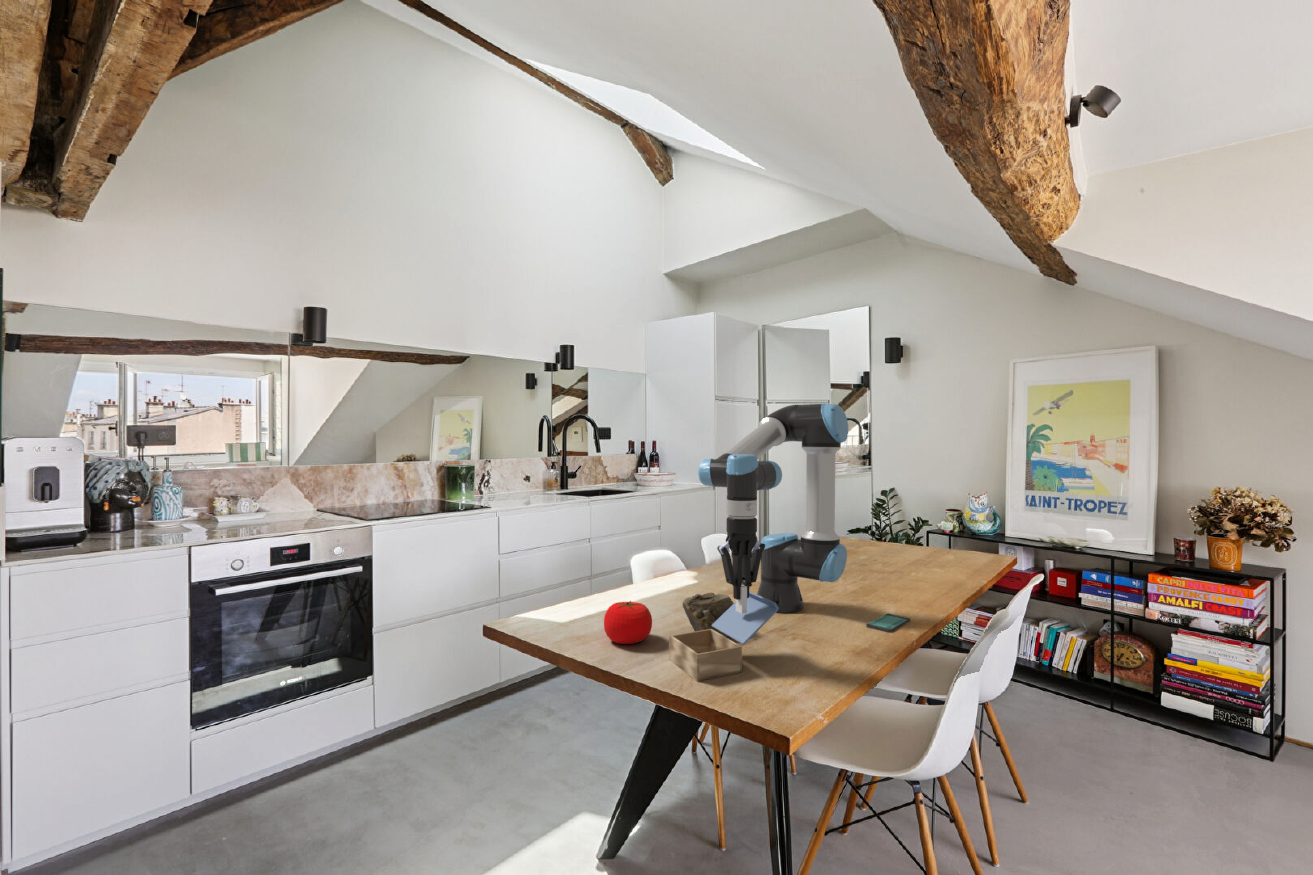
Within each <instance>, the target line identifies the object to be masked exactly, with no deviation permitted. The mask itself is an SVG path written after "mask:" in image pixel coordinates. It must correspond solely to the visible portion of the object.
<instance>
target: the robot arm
mask: <svg viewBox="0 0 1313 875" xmlns="http://www.w3.org/2000/svg"><path fill="white" fill-rule="evenodd" d="M848 435H849V422H848V417H847V415H846V413H845V410H844V409H843V408H842V406H840V405H838V404H836V403H811V404H791V405H786V406H784V407H782V408H779V409H777V410H775V411H773V412H772V413H770V414H768V415H767V416H765V417H764V418H762V420H760V421H759V423H758V424H757V427H756V428H754V430H752V431H751V432H749V433H748V434H747V435H746V436H744V437H743V438H741V439H740V440H739V441H738V442H737V443H735V444H733V446H731V447H730V448H729V449H727V450H726V451H725V452H723V453H722V454H721V455H720V456H719V457H717V458H707V459H703V460H702V461H701V462H700V464H699V466H698V470H697V475H698V480H699V482H700V483H701V484H702V485H704V486H708V487H713V488H726V515H727V517H726V527H725V528H726V529H725V530H726V533H727V536H726V539H725V543H723V544H722V545H718V546H717V548H716V549H717V551H718V552H719V555H720V558H721V562H722V567H723V572H724V576H725V581H726V583H728V584H729V585H731V586H732V589H733V591H732V592H733V593H732V594H733V595H732V596H733V599H735V602H736V611H737V612H739V613H741V614H743V613H747V598H749V591H750V587H752V586H753V583H756V582H757V580H758V575H759V570H760V583H759V586H758V589H757V592H756V594H757V595H759V596H762V597H764V598H766V599H768V600H771V601H773V602H775V603H776V604H777V606H778V608H779V609H778V611H777V612H776V613H779V614H781V613H782V614H783V613H784V614H785V613H786V614H788V613H795V612H799V611H802V610H803V609H804V599H803V597H802V593H801V589H800V586H799V582H798V581H799V580H798V578H802V579H806V580H813V581H818V582H822V583H823V582H827V583H835V582H838V581H839V580H840V578H842V575H843V573H844V571H845V569H846V566H847V560H848V551H847V547H846V546H845V545H843V544H842V543H841V540H840V539H841V538H840V536H839V535H838V534H837V533H836V531H835V530H836V529H835V528H836V527H835V526H836V523H835V522H836V521H835V520H836V457H837V456H836V454H837V452H839V451H840V450H841V448H842V447H841V444H842V443H845V442H846V441H847V439H848ZM786 442H789V443H790V442H801V449H802V450H804V452H805V453H806V470H805V471H806V473H805V474H806V478H805V479H806V481H805V482H806V483H805V486H806V487H805V489H806V490H805V492H806V494H805V498H806V499H805V508H806V509H805V531H803V533H802V534H800V539H799V534H797V533H795V532H794V533H792V532H785V533H773V534H768V535H765V536H764V537H762V538H761V540H760V541H759V540H758V536H757V534H756V533H757V532H758V519H757V518H756V516H758V491H762V490H763V491H764V490H767V491H769V490H772V489H775V488H777V487H778V486H779V485H780V483H781V481H782V480H783V479H782V478H783V471H782V468H781V466H780V465H779V464H778V463H777V462H776V461H772V460H765V459H764V460H759V459H761V458H762V457H763V456H764V455H765V454H766V453H767V452H769V450H771V449H772V448H773V447H778V446H780V445H782V444H784V443H786ZM730 552H731V554H730Z"/></svg>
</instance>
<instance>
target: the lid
mask: <svg viewBox="0 0 1313 875" xmlns="http://www.w3.org/2000/svg"><path fill="white" fill-rule="evenodd" d="M733 603H734V604H733V605H732V606H731V607H730V608H729V609H728V610H727V611H726V612H725V613H724V614H723V615H722V616H721V617H720V618H718V619H717V620H716V621H715V622H714V623H713V624H712V625H711V626H712V627H713V628H715V629H717V630H719V631H720V632H722V633H724V634H725V635H727V636H729V637H730V638H731V639H733V640H734V641H736V642H738V643H739V644H741V645H743V646H744V645H745V644H747V643H748V642H749V641H750V640H751V639H752V637H753V636H754V635H756V633H758V632H759V630H761V629H762V628H763V626H764V625H765V624H766V623H767V622H768V621H769V620H770V619H771V618H772V617H773V616H774V615H775V614H776V613H778V612H777V611H778V609H779V608H778V606H777V604H776V603H775V602H773V601H771V600H768V599H766V598H764V597H762V596H759V595H757V593H756V592H755V593H754V592H752V591H750V590H749V598H747V613H743V614H741V613H739V612H737V611H736V601H735V602H733Z"/></svg>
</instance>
